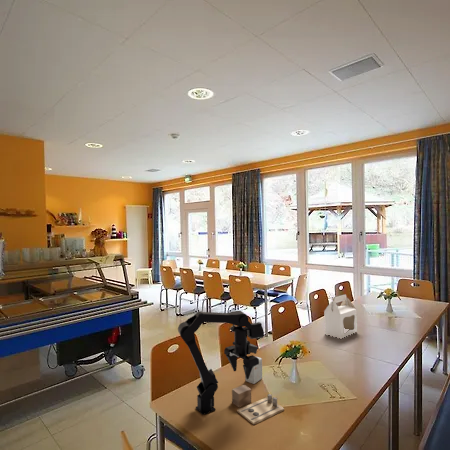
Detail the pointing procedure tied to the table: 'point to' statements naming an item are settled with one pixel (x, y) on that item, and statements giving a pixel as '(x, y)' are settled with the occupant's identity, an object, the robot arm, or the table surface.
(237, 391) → the upright wooden block
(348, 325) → the gable box
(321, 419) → the table surface
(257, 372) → the small box
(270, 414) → the guide board
